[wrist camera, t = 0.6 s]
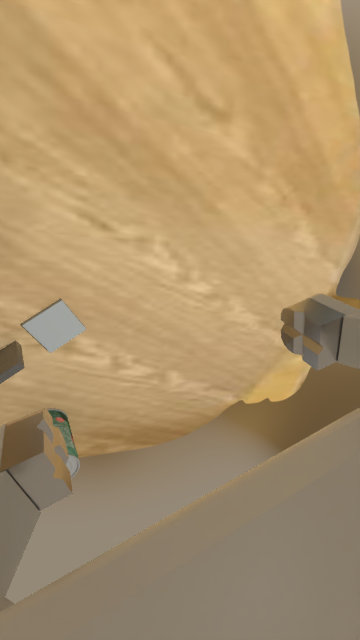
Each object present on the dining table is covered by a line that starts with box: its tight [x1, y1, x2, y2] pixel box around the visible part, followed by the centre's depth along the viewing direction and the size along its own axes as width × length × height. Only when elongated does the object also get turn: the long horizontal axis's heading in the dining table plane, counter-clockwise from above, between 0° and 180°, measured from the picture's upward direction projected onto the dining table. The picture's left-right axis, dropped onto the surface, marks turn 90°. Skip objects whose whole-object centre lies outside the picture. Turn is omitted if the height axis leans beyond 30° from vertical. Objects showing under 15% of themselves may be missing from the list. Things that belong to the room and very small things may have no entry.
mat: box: [22, 299, 86, 353], centre depth 48 cm, size 7×7×1 cm
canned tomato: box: [47, 409, 80, 478], centre depth 53 cm, size 8×8×11 cm
